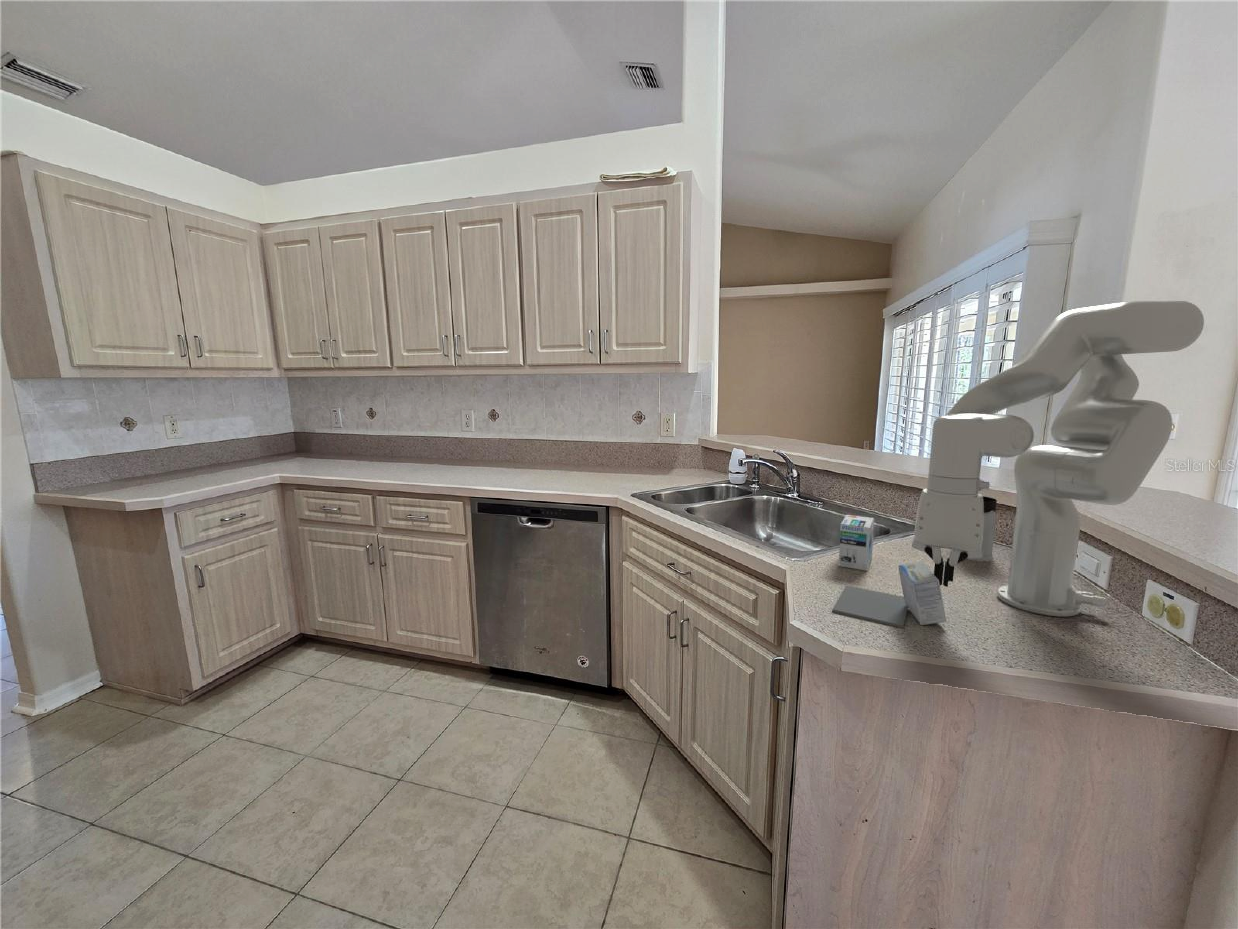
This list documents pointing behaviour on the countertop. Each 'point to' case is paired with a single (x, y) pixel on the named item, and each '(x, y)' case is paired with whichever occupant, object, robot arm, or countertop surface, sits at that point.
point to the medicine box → (922, 593)
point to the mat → (872, 606)
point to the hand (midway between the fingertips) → (942, 583)
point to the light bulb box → (856, 542)
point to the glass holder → (988, 529)
